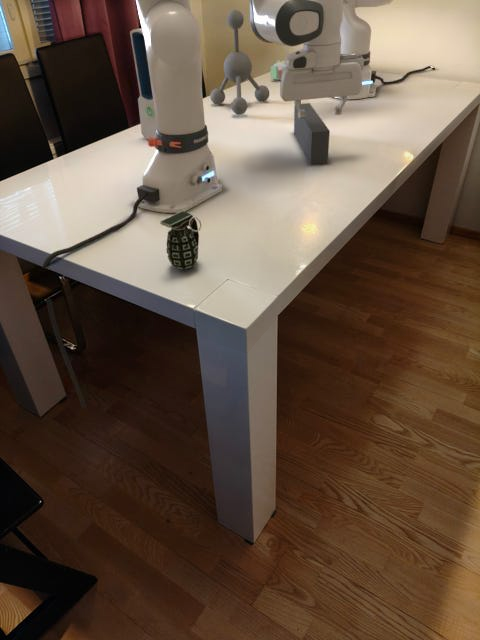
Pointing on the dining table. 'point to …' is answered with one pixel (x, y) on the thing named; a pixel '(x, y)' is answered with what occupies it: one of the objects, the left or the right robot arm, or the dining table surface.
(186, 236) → the grenade
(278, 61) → the grey green flat case
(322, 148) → the bar
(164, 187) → the left robot arm
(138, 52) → the electronic device
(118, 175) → the dining table surface
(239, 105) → the molecular model
